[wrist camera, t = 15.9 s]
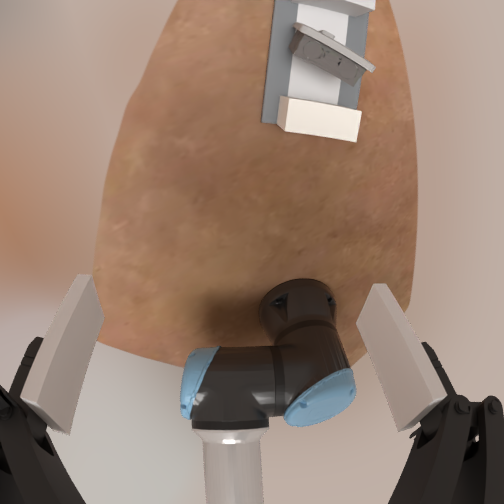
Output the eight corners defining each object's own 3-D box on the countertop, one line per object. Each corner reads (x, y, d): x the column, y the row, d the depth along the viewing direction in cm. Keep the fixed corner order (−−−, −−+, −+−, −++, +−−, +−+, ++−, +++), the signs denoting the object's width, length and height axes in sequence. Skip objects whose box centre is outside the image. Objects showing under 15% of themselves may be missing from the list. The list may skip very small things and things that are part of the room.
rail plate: (348, 133, 38) (370, 145, 32) (260, 121, 37) (267, 129, 31) (366, 0, 26) (390, -10, 20) (276, -21, 25) (286, -39, 19)
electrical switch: (354, 54, 31) (384, 56, 23) (338, 83, 33) (364, 92, 26) (293, 21, 28) (309, 11, 21) (277, 52, 31) (287, 50, 24)
